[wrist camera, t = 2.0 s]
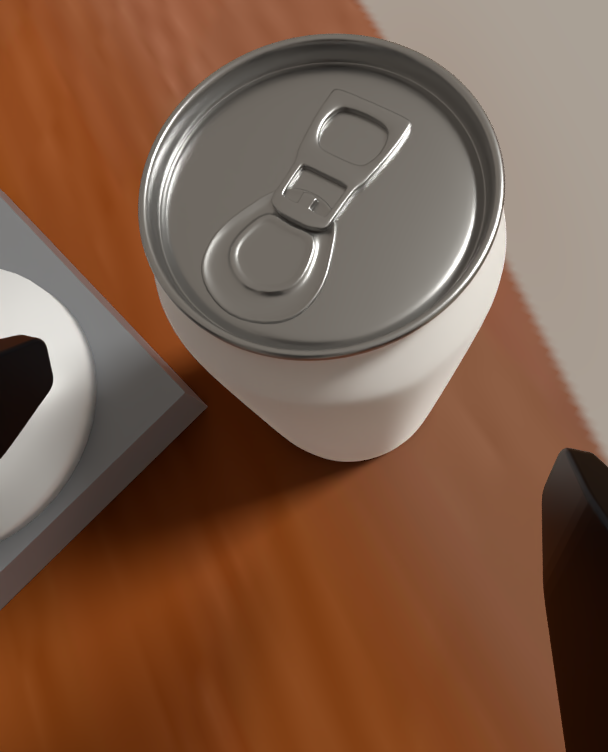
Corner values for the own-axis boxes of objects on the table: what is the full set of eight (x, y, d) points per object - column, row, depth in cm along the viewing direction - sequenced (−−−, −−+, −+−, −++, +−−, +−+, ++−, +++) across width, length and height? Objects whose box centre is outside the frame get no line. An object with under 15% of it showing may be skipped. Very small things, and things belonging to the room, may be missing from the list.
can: (229, 403, 20) (31, 255, 8) (321, 267, 21) (258, -39, 9) (377, 499, 18) (388, 482, 7) (468, 347, 19) (618, 102, 8)
